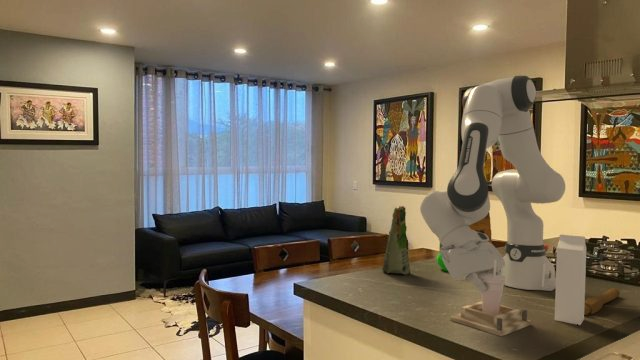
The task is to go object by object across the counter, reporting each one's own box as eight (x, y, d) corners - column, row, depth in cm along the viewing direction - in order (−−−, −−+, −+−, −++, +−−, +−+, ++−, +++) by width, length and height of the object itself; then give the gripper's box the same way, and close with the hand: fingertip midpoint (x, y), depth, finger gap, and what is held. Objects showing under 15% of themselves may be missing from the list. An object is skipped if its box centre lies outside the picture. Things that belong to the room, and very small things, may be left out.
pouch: (401, 268, 181) (403, 204, 180) (418, 275, 169) (420, 206, 169) (375, 270, 177) (377, 204, 176) (391, 277, 165) (393, 206, 165)
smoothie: (506, 319, 114) (508, 262, 114) (478, 317, 116) (481, 261, 115) (501, 311, 121) (503, 257, 120) (475, 309, 122) (477, 256, 121)
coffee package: (487, 268, 183) (489, 212, 183) (456, 264, 191) (458, 210, 191) (495, 265, 191) (497, 211, 191) (465, 260, 199) (467, 209, 198)
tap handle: (620, 288, 145) (588, 306, 124) (620, 298, 145) (588, 318, 124) (609, 286, 147) (575, 304, 126) (609, 296, 147) (575, 315, 127)
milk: (558, 315, 126) (561, 233, 125) (584, 319, 122) (587, 235, 122) (554, 320, 121) (556, 235, 120) (580, 325, 117) (583, 237, 117)
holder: (481, 310, 128) (481, 298, 128) (531, 324, 117) (531, 310, 117) (450, 320, 119) (450, 306, 119) (501, 336, 108) (501, 321, 108)
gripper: (444, 240, 116) (478, 287, 109) (489, 233, 129) (522, 275, 122) (429, 255, 120) (461, 301, 113) (475, 247, 133) (506, 289, 126)
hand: (493, 288), depth 117 cm, fingers closed on smoothie, 6 cm apart
